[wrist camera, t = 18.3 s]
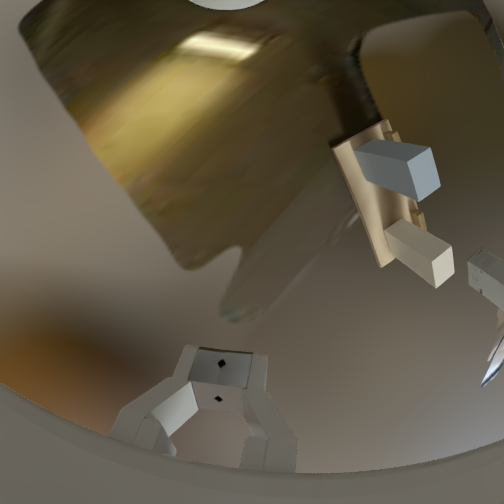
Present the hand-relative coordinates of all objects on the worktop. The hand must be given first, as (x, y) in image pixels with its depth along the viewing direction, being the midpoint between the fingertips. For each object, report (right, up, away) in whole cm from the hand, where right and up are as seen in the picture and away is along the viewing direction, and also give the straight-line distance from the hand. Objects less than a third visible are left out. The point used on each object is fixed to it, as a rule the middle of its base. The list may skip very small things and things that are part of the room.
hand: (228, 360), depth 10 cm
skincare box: (+53, +1, +44) cm, 69 cm away
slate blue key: (+18, +17, +28) cm, 37 cm away
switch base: (+22, +13, +32) cm, 41 cm away
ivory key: (+25, +7, +34) cm, 43 cm away
